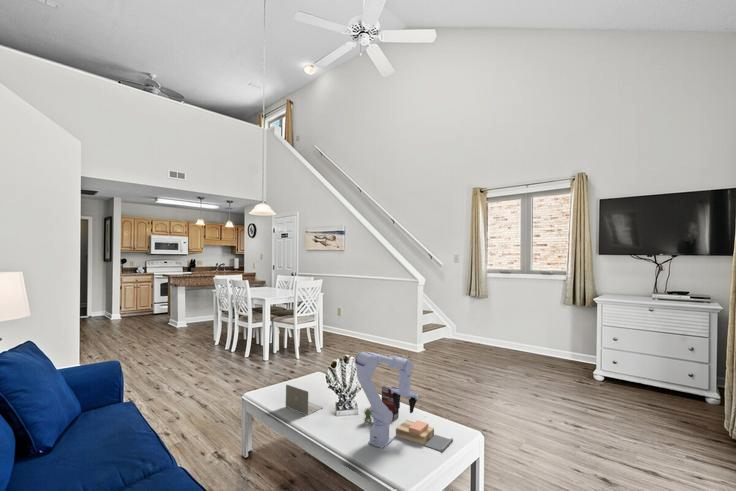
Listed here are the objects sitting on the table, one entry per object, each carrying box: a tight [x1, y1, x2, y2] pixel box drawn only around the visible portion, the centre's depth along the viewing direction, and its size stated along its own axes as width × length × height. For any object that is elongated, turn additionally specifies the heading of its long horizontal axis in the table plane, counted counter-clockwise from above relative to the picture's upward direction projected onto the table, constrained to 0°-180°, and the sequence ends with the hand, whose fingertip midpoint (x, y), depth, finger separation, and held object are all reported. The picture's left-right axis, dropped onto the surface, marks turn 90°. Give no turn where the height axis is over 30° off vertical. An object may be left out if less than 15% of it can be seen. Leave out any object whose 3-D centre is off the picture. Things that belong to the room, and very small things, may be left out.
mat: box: [423, 434, 454, 453], centre depth 172 cm, size 12×9×1 cm
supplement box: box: [381, 384, 400, 421], centre depth 199 cm, size 9×5×16 cm, turn 50°
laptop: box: [285, 384, 324, 416], centre depth 210 cm, size 18×12×13 cm
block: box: [409, 419, 429, 435], centre depth 178 cm, size 9×6×2 cm, turn 145°
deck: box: [395, 419, 435, 446], centre depth 179 cm, size 11×15×4 cm
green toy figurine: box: [362, 407, 373, 424], centre depth 192 cm, size 12×12×8 cm
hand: (404, 410), depth 183 cm, fingers open, 7 cm apart
